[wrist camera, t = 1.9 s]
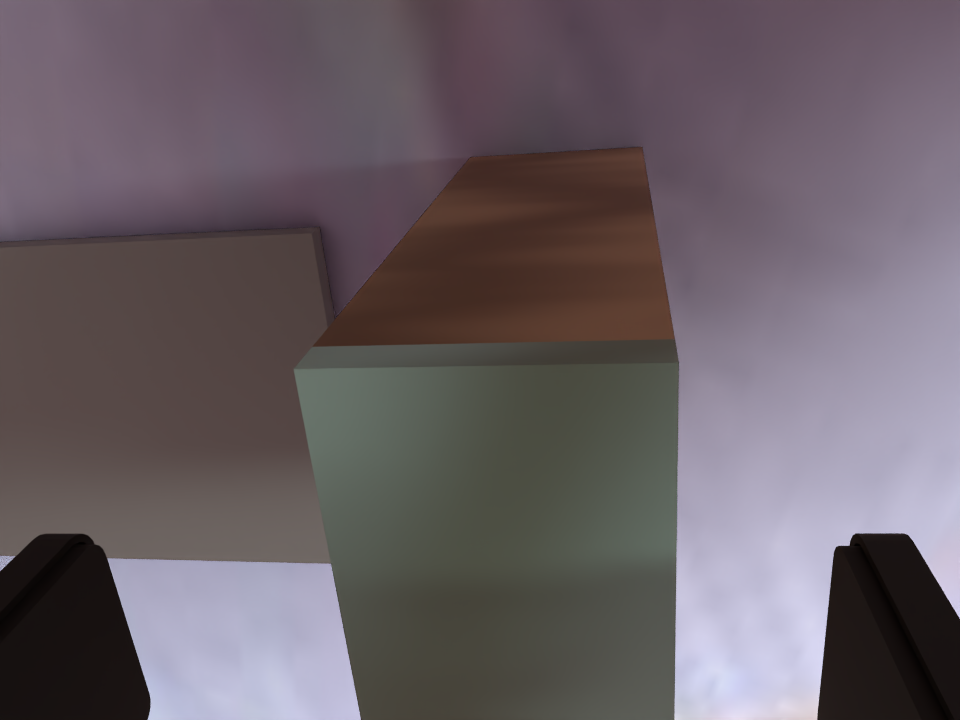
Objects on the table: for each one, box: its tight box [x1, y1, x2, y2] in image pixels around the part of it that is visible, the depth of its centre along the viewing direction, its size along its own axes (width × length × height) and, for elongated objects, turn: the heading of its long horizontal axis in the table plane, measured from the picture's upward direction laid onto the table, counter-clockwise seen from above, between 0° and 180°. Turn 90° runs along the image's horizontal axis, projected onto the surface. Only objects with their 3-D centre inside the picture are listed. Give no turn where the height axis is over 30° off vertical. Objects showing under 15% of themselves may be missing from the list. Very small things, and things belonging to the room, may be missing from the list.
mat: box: [0, 227, 335, 564], centre depth 24 cm, size 18×10×1 cm, turn 95°
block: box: [294, 147, 679, 720], centre depth 15 cm, size 4×7×12 cm, turn 5°
